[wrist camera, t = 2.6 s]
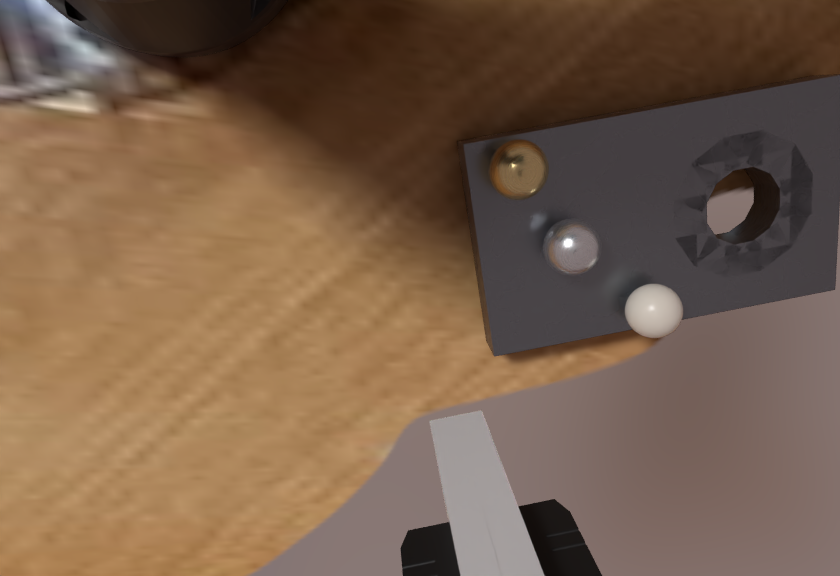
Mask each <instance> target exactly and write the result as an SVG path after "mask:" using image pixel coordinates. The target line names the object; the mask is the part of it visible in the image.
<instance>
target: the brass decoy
mask: <svg viewBox="0 0 840 576" xmlns="http://www.w3.org/2000/svg"><path fill="white" fill-rule="evenodd" d="M548 174H549V163H548V159H547V157H546V155H545V153H544V152H543V150H542V149H541V148H540V147H539V146H538V145H536V144H535V143H533V142H531V141H528V140H521V139H518V140H512V141H509V142H506V143H505V144H503V145H501V146H500V147H499V148H498V149H497V150H496V151H495V152H494V154H493V156H492V158H491V160H490V163H489V179H490V182H491V184H492V186H493V187H494V189H495V190H496V191H497V192H498V193H499V194H500V195H502V196H503V197H505V198H508V199H511V200H524V199H528V198H531V197H532V196H534V195H536V194H537V193H538V192H539V191H540V190H541V189H542V188H543V186H544V185H545V183H546V181H547V178H548Z"/></svg>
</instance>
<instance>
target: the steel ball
mask: <svg viewBox="0 0 840 576" xmlns="http://www.w3.org/2000/svg"><path fill="white" fill-rule="evenodd" d="M601 249H602V244H601V239H600V236H599V234H598V232H597V231H596V229H595V228H594V227H593V226H592V225H591V224H589V223H588V222H586V221H583V220H580V219H565V220H562V221H560V222H558V223H556V224H555V225H553V226H552V227H551V228H550V229H549V231H548V232H547V234H546V236H545V238H544V242H543V253H544V257H545V259H546V261H547V263H548V264H549V265H550V266H551V268H553V269H554V270H555V271H557V272H558V273H561V274H564V275H569V276H574V275H580V274H583V273H585V272H587V271H589V270H590V269H591V268H592V267H593V266H594V265H595V264H596V263H597V261H598V259H599V257H600V254H601Z"/></svg>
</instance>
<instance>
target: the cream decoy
mask: <svg viewBox="0 0 840 576" xmlns="http://www.w3.org/2000/svg"><path fill="white" fill-rule="evenodd" d="M625 316H626V320H627V322H628V324H629V325H630V327H631V328H632V329H633V330H634V331H635V332H637V333H638V334H640V335H642V336H645V337H649V338H660V337H664V336H667V335H669V334H670V333H672V332H673V331H674V330H675V329H676V328H677V327H678V326H679V324H680V322H681V320H682V317H683V306H682V302H681V300H680V298H679V297H678V295H677V294H676V293H675V292H674V291H673V290H672V289H670V288H668V287H666V286H664V285H660V284H647V285H643V286H641V287H639V288H637V289H636V290H634V291H633V292H632V293H631V294H630V296H629V297H628V299H627V302H626V305H625Z"/></svg>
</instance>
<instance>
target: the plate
mask: <svg viewBox="0 0 840 576" xmlns="http://www.w3.org/2000/svg"><path fill="white" fill-rule="evenodd" d="M518 139H521V140H528V141H531V142H533V143H535V144H536V145H538V146H539V147H540V148H541V149H542V150H543V152H544V153H545V155H546V157H547V159H548V163H549V174H548V178H547V181H546V183H545V185H544V186H543V188H542V189H541V190H540V191H539V192H538V193H537V194H536V195H534V196H532V197H531V198H528V199H524V200H511V199H508V198H505V197H503V196H502V195H500V194H499V193H498V192H497V191H496V190H495V189H494V187H493V186H492V184H491V182H490V179H489V163H490V160H491V158H492V156H493V154H494V152H495V151H496V150H497V149H498V148H499V147H500V146H501V145H503V144H505V143H506V142H509V141H512V140H518ZM457 146H458V153H459V160H460V166H461V173H462V180H463V187H464V193H465V200H466V207H467V214H468V220H469V227H470V234H471V241H472V247H473V254H474V261H475V268H476V275H477V281H478V288H479V295H480V302H481V308H482V315H483V322H484V329H485V335H486V341H487V343H488V345H489V347H490V349H491V351H492V353H493V355H494V356H499V355H504V354H509V353H514V352H520V351H525V350H530V349H535V348H540V347H545V346H550V345H555V344H560V343H566V342H571V341H576V340H581V339H586V338H591V337H596V336H601V335H606V334H611V333H617V332H622V331H627V330H632V328H631V327H630V325H629V324H628V322H627V320H626V316H625V305H626V302H627V299H628V297H629V296H630V294H631V293H632V292H633V291H634V290H636V289H637V288H639V287H641V286H643V285H647V284H660V285H664V286H666V287H668V288H670V289H672V290H673V291H674V292H675V293H676V294H677V295H678V297H679V298H680V300H681V302H682V306H683V317H682V320H683V319H688V318H693V317H698V316H703V315H708V314H713V313H718V312H724V311H728V310H734V309H739V308H744V307H749V306H754V305H758V304H765V303H769V302H775V301H780V300H784V299H790V298H795V297H800V296H805V295H810V294H815V293H821V292H826V291H831V290H835V282H836V264H837V245H838V244H837V243H838V225H839V206H840V74H834V75H815V76H809V77H804V78H798V79H793V80H788V81H782V82H777V83H771V84H766V85H760V86H755V87H749V88H744V89H739V90H733V91H728V92H722V93H717V94H711V95H706V96H700V97H695V98H690V99H684V100H679V101H673V102H668V103H662V104H657V105H652V106H646V107H641V108H635V109H630V110H624V111H619V112H613V113H608V114H603V115H597V116H592V117H586V118H581V119H575V120H570V121H565V122H559V123H554V124H548V125H543V126H537V127H532V128H526V129H521V130H516V131H510V132H505V133H499V134H494V135H488V136H483V137H477V138H472V139H467V140H461V141H457ZM739 169H745V170H746V172H747V173H748V175H749V177H750V178H751V180H752V181H753V183H754V203H753V205H752V207H751V209H750V211H749V213H748V215H747V217H746V219H745V220H744V221H743V222H742V223H741V224H739V225H738V226H736V227H735V228H734V229H733V230H731V231H730V232H727V233H722V234H717V235H715V234H714V233H713V231H712V230H711V228H710V227H709V225H708V224H707V202H708V200H709V198H710V196H711V194H712V192H713V190H714V188H715V186H716V184H717V183H718V182H719V181H721V180H722V179H723V178H725V177H726V176H727V175H728V174H730V173H731V172H732V171H733V170H739ZM565 219H580V220H583V221H586V222H588V223H589V224H591V225H592V226H593V227H594V228H595V229H596V231H597V232H598V234H599V236H600V239H601V244H602V249H601V254H600V257H599V259H598V261H597V263H596V264H595V265H594V266H593V267H592V268H591V269H590V270H589V271H587V272H585V273H583V274H580V275H574V276H569V275H564V274H561V273H558V272H557V271H555V270H554V269H553V268H551V266H550V265H549V264H548V263H547V261H546V259H545V257H544V253H543V242H544V238H545V236H546V234H547V232H548V231H549V229H550V228H551V227H552V226H553V225H555V224H556V223H558V222H560V221H562V220H565Z"/></svg>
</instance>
